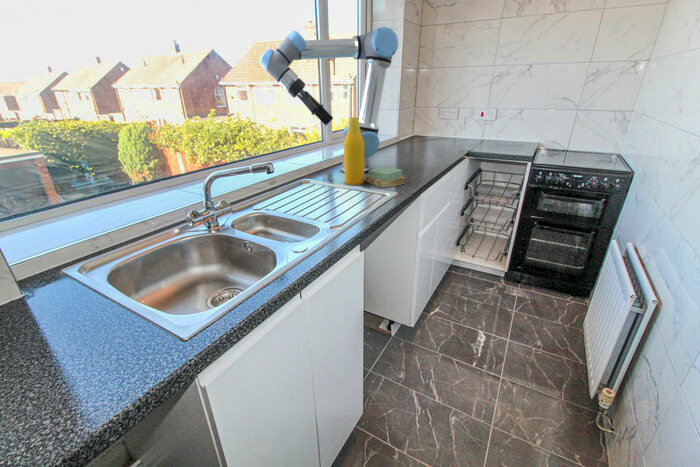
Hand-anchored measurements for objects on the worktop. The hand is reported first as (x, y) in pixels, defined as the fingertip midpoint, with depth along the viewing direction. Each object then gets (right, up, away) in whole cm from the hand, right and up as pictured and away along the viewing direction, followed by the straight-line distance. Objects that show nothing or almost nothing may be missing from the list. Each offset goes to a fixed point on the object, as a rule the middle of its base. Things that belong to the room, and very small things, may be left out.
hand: (329, 121), depth 143 cm
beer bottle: (+11, -25, +11) cm, 29 cm away
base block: (+25, -25, +10) cm, 37 cm away
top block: (+25, -22, +9) cm, 35 cm away
